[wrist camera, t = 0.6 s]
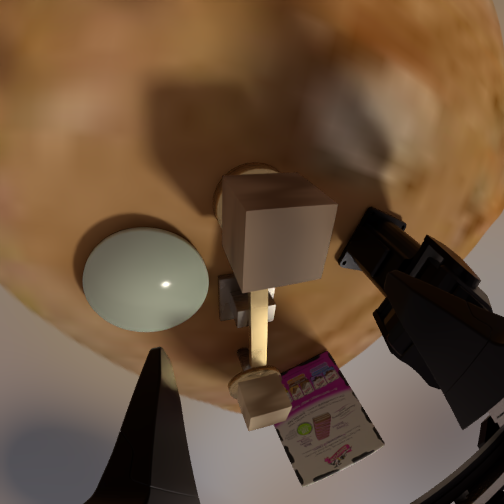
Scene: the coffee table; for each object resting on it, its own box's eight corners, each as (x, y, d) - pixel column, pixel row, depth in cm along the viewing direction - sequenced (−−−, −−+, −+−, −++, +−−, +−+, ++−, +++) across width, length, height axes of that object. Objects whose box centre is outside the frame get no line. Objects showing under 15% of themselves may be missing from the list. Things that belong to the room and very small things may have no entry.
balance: (212, 164, 18) (230, 191, 14) (291, 162, 19) (326, 186, 15) (219, 369, 31) (230, 403, 27) (264, 359, 33) (278, 391, 29)
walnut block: (296, 172, 18) (338, 204, 14) (288, 236, 21) (320, 278, 17) (222, 175, 17) (246, 211, 13) (222, 245, 19) (242, 293, 16)
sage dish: (223, 238, 21) (226, 245, 20) (189, 328, 25) (190, 336, 25) (89, 212, 16) (87, 219, 16) (83, 315, 21) (82, 324, 20)
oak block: (277, 372, 26) (292, 406, 23) (272, 390, 28) (285, 420, 25) (237, 382, 25) (250, 418, 22) (237, 399, 27) (248, 431, 24)
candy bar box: (265, 394, 39) (306, 486, 26) (255, 384, 36) (299, 488, 23) (331, 362, 40) (382, 449, 27) (328, 348, 36) (386, 445, 24)
